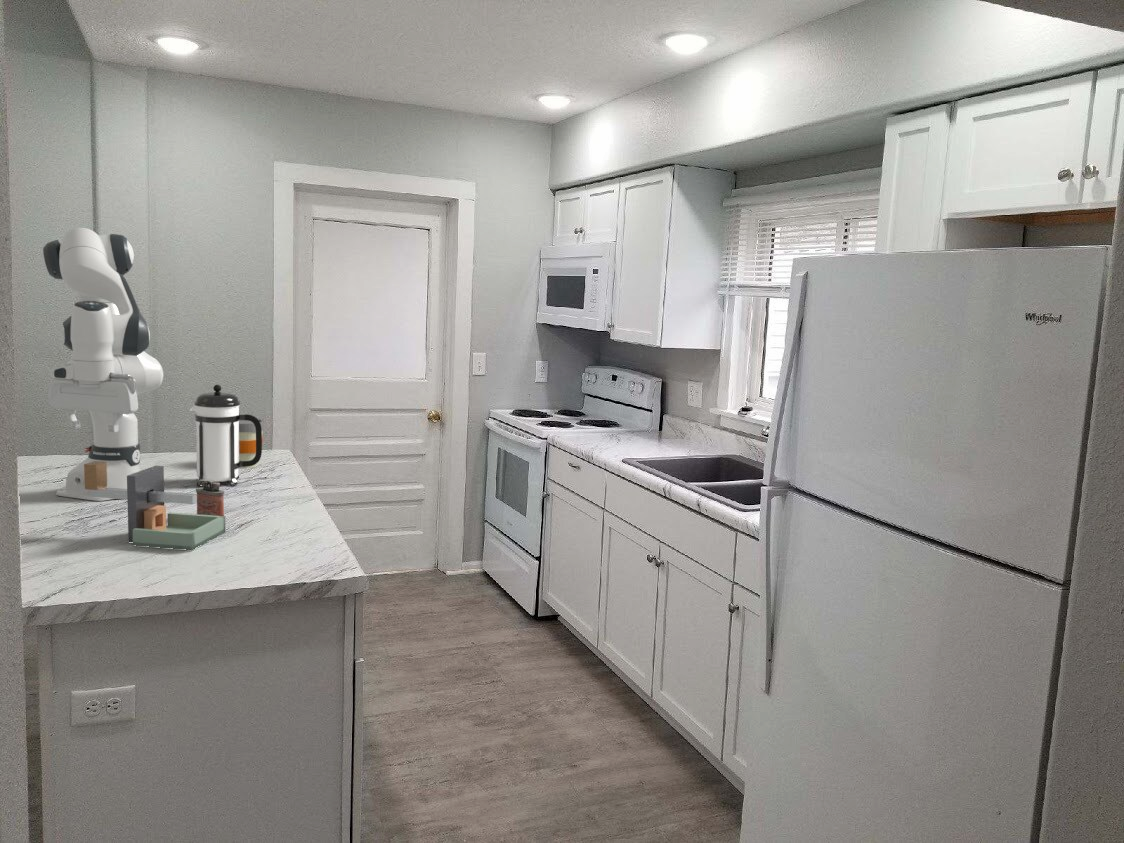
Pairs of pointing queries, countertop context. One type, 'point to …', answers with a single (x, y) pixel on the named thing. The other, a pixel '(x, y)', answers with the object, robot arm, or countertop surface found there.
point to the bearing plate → (142, 495)
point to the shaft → (98, 488)
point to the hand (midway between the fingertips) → (94, 430)
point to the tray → (181, 531)
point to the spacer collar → (155, 518)
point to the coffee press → (221, 436)
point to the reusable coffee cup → (248, 441)
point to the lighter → (210, 498)
